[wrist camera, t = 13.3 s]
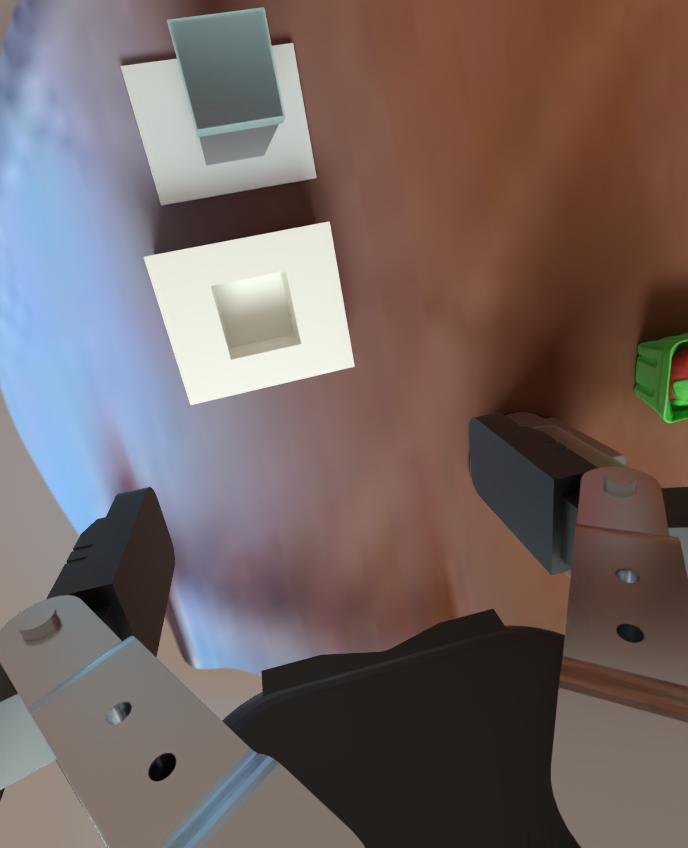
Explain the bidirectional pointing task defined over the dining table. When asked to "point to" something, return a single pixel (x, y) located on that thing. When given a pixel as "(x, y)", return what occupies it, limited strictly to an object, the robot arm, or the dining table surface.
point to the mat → (181, 148)
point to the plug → (229, 82)
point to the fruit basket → (664, 376)
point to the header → (253, 311)
